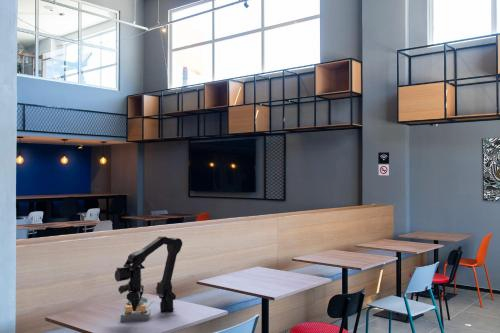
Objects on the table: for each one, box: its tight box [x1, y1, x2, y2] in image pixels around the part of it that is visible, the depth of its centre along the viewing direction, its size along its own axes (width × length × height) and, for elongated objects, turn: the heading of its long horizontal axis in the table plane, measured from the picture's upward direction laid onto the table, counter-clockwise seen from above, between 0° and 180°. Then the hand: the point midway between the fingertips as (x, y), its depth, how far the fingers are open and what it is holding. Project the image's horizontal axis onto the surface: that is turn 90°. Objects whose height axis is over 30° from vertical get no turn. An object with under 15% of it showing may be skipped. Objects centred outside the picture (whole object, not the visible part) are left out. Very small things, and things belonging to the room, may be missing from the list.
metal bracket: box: [125, 296, 154, 310], centre depth 271 cm, size 14×6×15 cm
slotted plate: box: [120, 309, 152, 322], centre depth 246 cm, size 14×8×3 cm, turn 95°
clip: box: [124, 304, 147, 314], centre depth 246 cm, size 10×2×6 cm, turn 95°
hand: (135, 308), depth 246 cm, fingers open, 9 cm apart
